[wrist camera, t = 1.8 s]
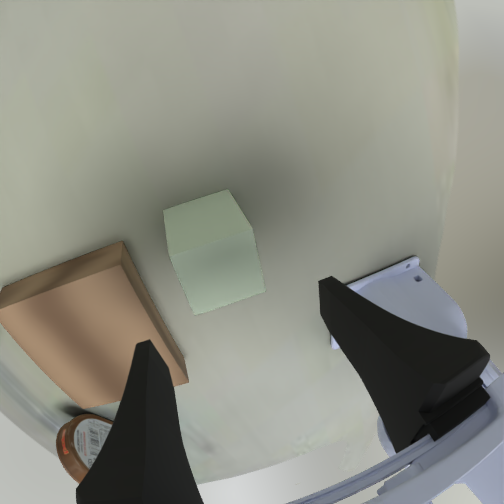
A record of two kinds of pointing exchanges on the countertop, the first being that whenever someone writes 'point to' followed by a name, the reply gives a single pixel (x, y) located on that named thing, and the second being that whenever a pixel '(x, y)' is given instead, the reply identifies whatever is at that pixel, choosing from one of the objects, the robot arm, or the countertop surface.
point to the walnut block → (88, 324)
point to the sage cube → (213, 252)
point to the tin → (81, 443)
